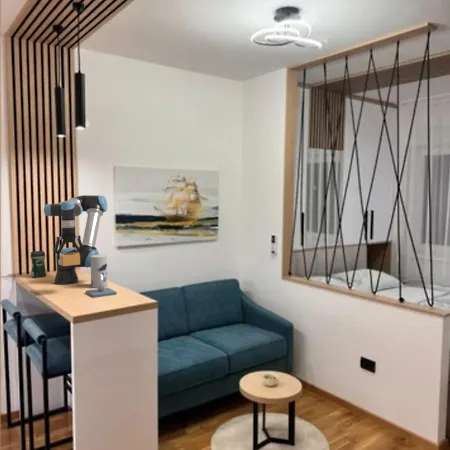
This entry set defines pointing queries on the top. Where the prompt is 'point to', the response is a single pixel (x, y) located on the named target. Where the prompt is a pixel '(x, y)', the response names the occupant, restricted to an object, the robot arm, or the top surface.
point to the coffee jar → (38, 264)
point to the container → (98, 269)
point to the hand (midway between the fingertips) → (69, 263)
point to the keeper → (101, 289)
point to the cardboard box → (70, 259)
